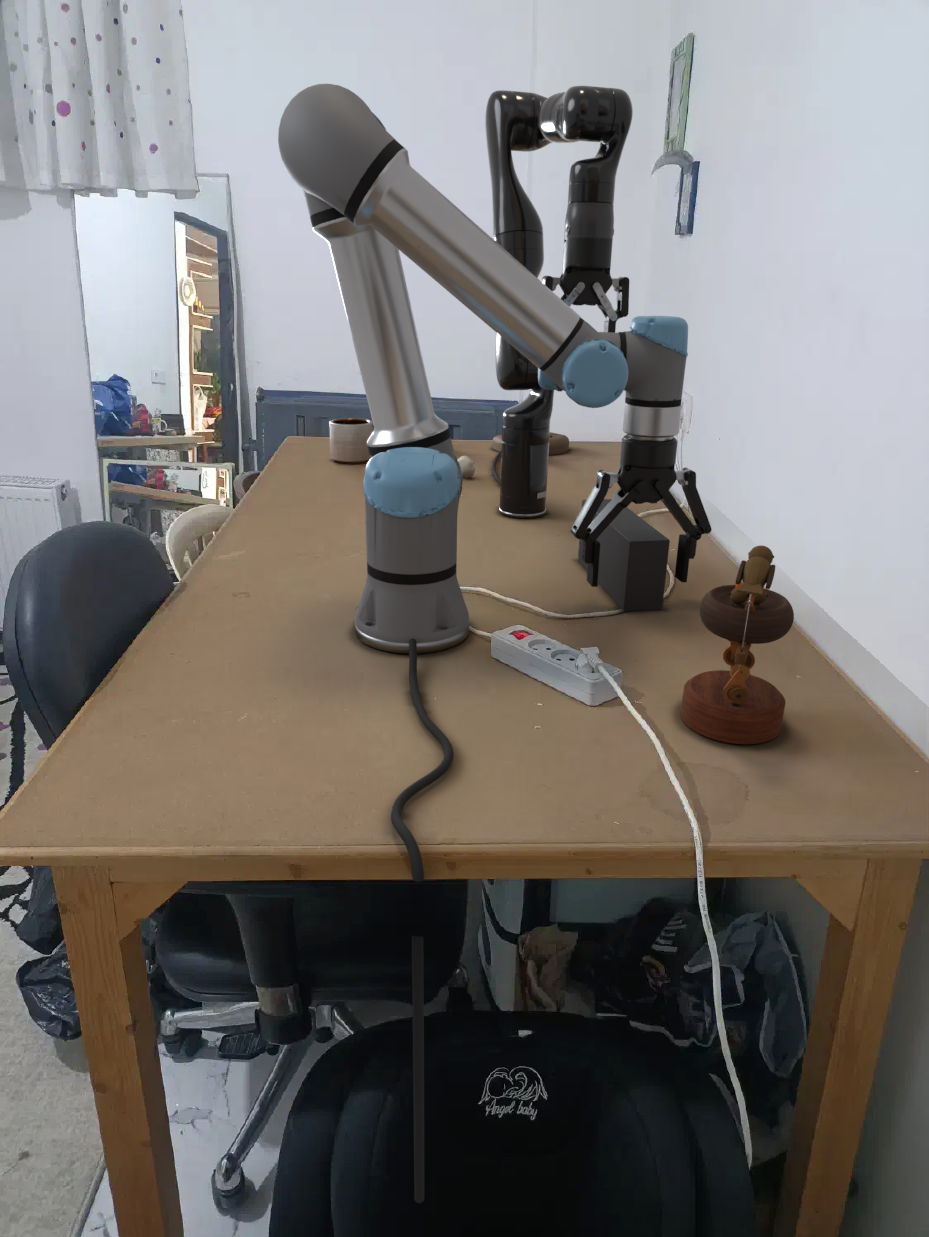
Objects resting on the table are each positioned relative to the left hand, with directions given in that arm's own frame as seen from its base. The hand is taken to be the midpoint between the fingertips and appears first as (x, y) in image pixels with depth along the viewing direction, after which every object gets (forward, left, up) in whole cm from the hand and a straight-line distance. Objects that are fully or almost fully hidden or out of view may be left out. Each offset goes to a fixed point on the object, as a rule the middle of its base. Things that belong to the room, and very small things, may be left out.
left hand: (636, 581), depth 124 cm
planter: (+91, +63, -3) cm, 111 cm away
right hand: (+27, +9, +31) cm, 42 cm away
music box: (-35, -7, -3) cm, 36 cm away
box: (+7, +2, -3) cm, 8 cm away
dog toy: (+74, +41, -3) cm, 85 cm away
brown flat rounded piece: (+107, +18, -3) cm, 109 cm away
